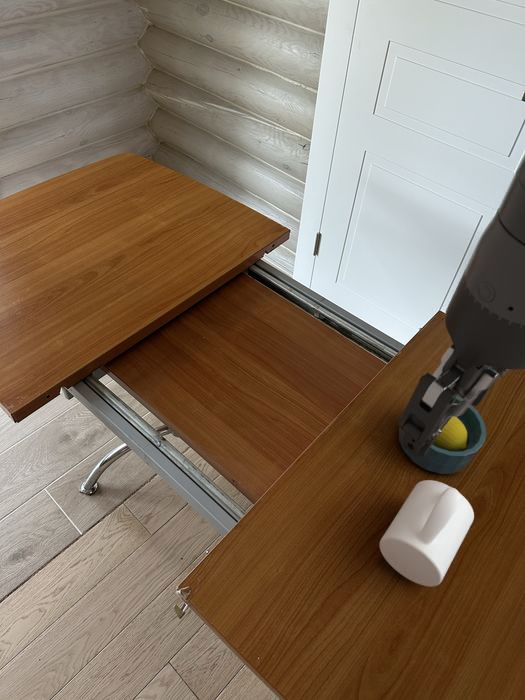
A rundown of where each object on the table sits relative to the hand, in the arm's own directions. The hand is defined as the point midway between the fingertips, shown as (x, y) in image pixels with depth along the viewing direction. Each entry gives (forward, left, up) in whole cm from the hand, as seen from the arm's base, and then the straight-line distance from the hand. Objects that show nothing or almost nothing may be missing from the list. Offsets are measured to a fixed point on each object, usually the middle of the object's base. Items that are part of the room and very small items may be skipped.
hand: (441, 422), depth 46 cm
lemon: (+8, -21, -26) cm, 35 cm away
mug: (-4, -6, -30) cm, 31 cm away
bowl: (+4, -21, -30) cm, 37 cm away
